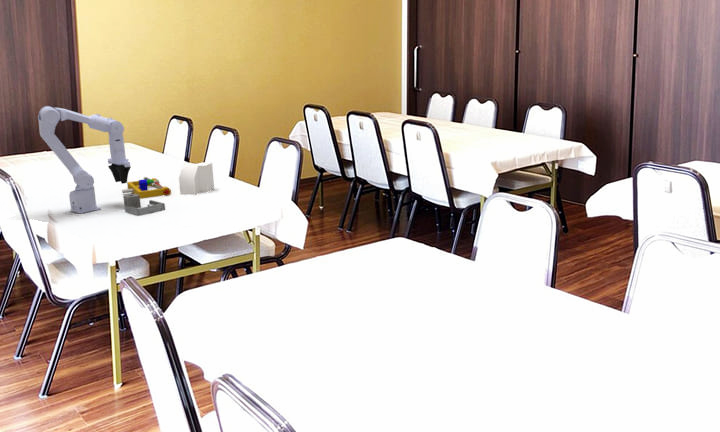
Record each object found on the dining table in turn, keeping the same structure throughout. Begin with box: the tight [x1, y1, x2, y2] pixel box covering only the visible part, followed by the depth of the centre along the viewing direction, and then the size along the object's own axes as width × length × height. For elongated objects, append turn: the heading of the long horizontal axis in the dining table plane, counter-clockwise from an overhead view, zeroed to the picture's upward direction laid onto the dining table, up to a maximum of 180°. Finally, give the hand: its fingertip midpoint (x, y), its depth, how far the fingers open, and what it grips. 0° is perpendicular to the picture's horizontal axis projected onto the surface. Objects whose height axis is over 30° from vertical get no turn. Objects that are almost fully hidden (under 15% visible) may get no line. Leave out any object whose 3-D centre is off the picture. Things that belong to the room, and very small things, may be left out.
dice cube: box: [122, 193, 142, 209], centre depth 318 cm, size 5×5×5 cm
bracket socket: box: [124, 199, 166, 216], centre depth 311 cm, size 12×11×3 cm
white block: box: [178, 162, 215, 195], centre depth 341 cm, size 11×11×12 cm
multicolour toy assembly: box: [121, 176, 172, 200], centre depth 346 cm, size 18×6×30 cm
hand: (121, 182), depth 321 cm, fingers open, 4 cm apart
